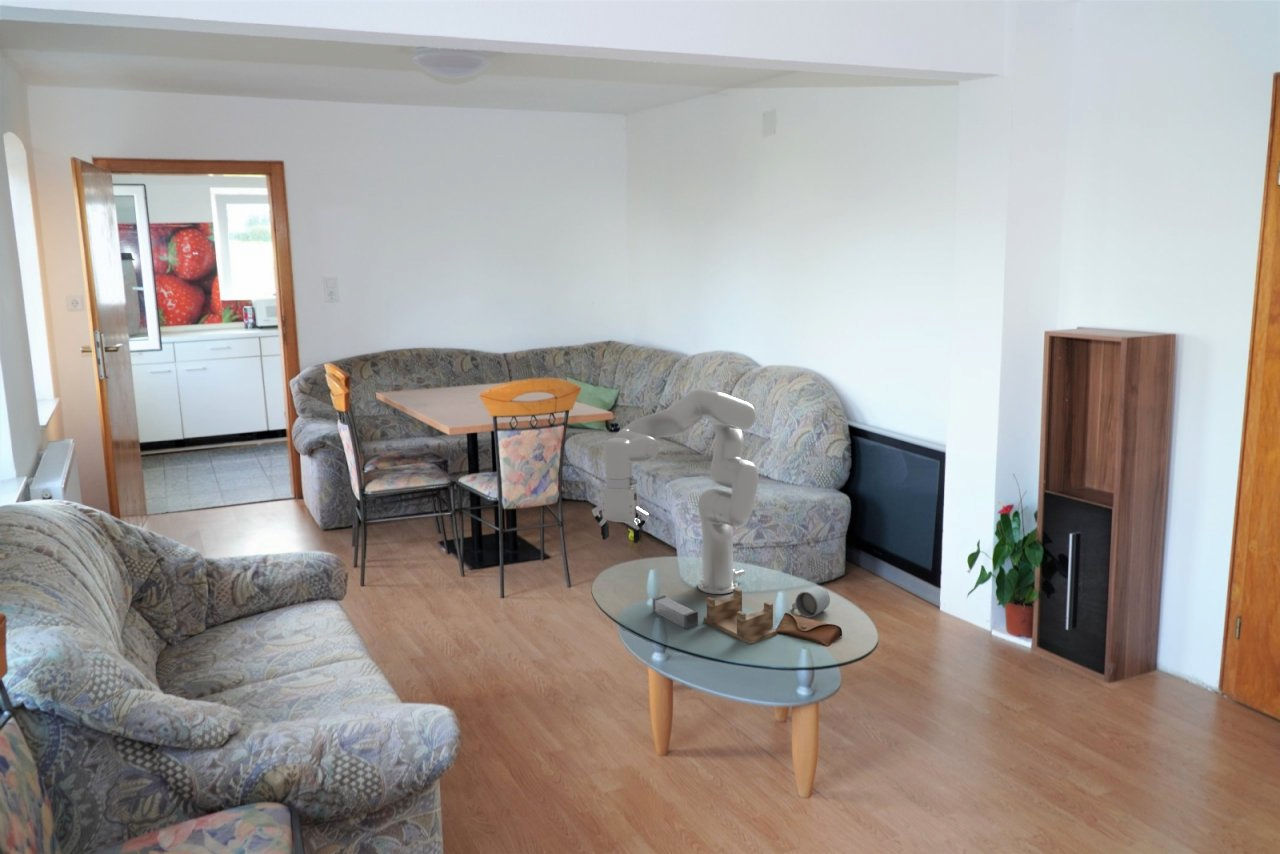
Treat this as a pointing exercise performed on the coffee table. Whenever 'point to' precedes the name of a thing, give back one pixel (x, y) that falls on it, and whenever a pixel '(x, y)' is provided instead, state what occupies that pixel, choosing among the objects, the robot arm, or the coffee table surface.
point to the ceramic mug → (812, 601)
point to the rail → (675, 612)
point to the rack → (740, 618)
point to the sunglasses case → (809, 629)
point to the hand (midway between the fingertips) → (621, 539)
